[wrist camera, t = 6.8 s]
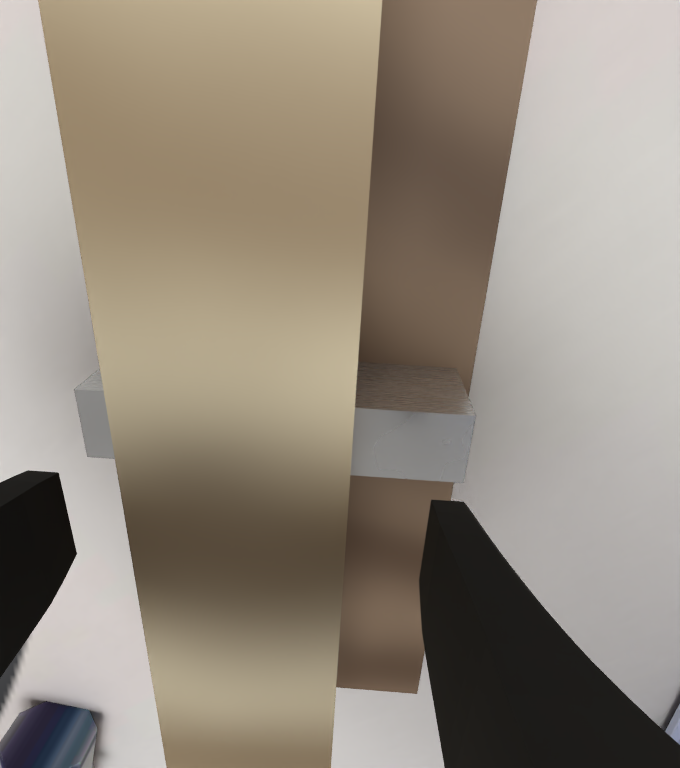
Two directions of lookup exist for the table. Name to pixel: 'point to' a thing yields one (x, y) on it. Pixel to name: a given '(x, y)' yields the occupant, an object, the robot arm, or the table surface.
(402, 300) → the board
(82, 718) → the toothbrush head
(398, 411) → the ridge
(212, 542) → the beech rod
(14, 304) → the table surface
